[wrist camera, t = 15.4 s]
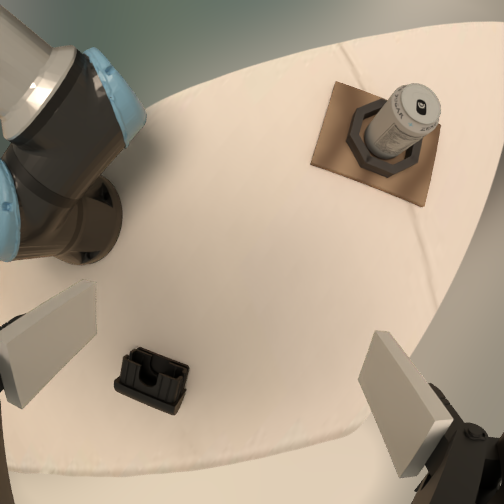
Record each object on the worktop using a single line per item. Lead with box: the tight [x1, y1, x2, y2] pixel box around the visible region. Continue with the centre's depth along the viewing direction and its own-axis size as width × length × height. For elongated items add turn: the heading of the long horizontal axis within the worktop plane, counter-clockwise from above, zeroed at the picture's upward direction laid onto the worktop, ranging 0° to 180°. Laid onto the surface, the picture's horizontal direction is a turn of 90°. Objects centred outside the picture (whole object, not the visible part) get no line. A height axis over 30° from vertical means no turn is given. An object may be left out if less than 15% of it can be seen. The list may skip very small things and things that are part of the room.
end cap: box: [114, 347, 189, 415], centre depth 45 cm, size 10×7×7 cm
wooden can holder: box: [310, 81, 441, 207], centre depth 42 cm, size 18×14×4 cm
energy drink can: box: [364, 83, 441, 159], centre depth 35 cm, size 6×6×15 cm
